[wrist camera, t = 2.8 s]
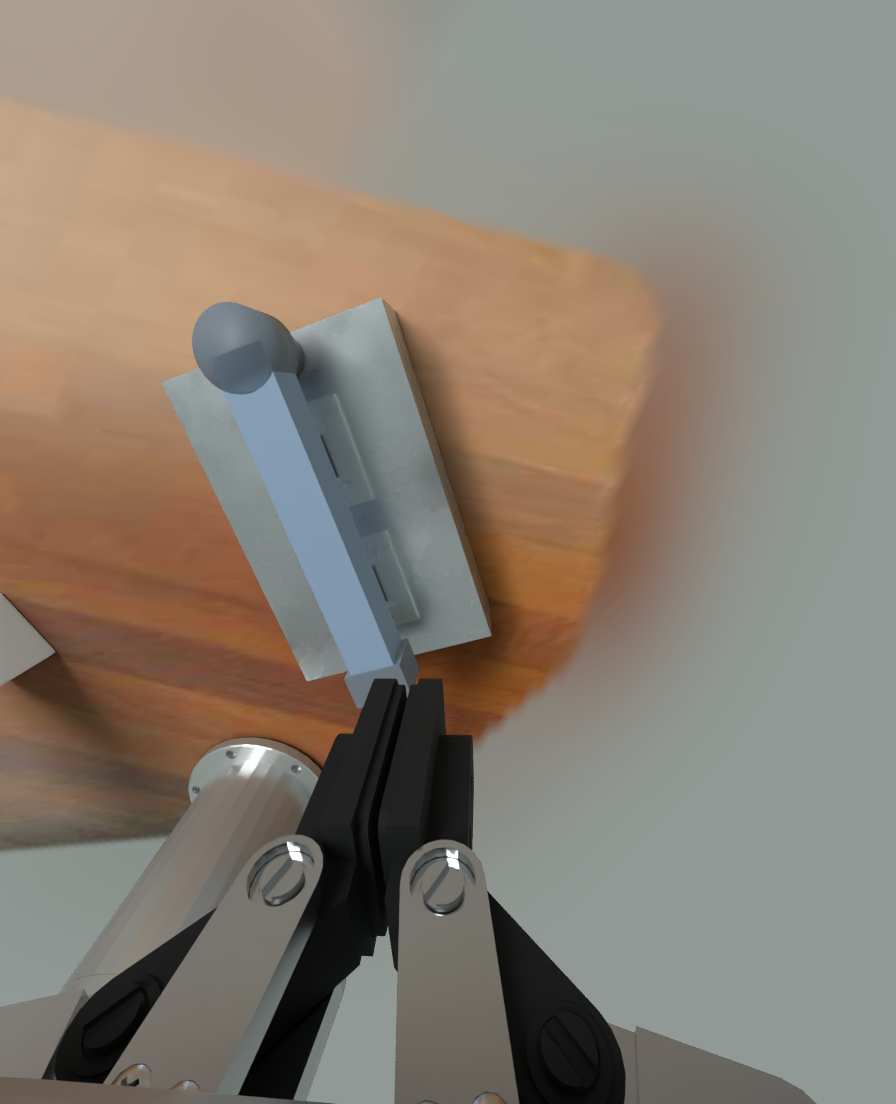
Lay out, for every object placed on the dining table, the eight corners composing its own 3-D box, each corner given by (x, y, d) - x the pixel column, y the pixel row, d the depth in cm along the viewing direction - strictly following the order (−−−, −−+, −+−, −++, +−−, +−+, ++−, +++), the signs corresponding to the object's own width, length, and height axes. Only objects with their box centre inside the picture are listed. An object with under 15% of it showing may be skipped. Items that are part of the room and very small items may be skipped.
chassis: (490, 607, 32) (492, 655, 26) (326, 649, 34) (294, 702, 29) (393, 307, 26) (369, 282, 20) (202, 380, 28) (130, 377, 23)
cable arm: (212, 328, 21) (174, 319, 19) (279, 301, 21) (250, 287, 18) (366, 679, 27) (354, 709, 25) (422, 665, 27) (415, 695, 24)
